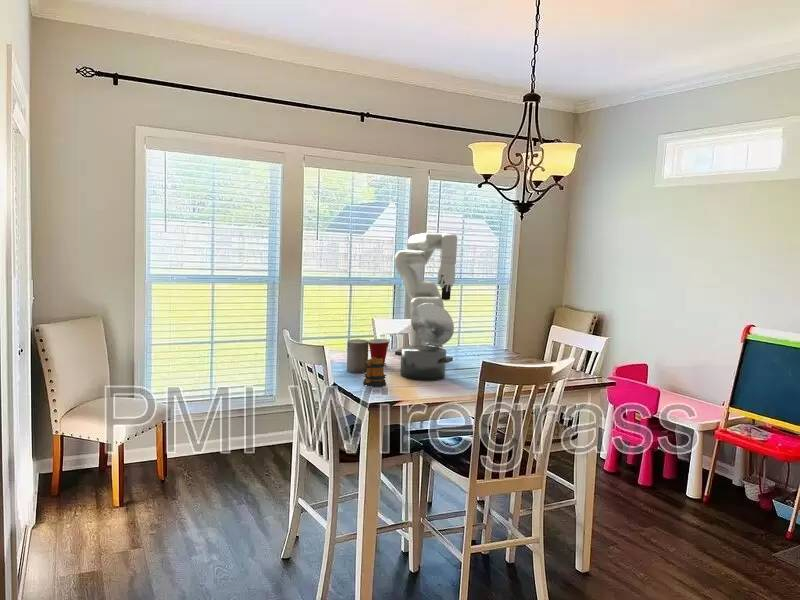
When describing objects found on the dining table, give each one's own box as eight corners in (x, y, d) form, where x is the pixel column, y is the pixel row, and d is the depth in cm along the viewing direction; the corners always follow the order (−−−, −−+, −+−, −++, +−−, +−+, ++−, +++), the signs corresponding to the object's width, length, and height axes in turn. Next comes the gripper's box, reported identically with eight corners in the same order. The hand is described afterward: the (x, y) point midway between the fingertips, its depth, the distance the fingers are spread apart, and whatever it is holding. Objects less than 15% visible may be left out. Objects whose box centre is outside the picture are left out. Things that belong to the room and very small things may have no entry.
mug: (369, 380, 268) (370, 353, 267) (390, 383, 264) (392, 356, 263) (354, 386, 256) (356, 358, 255) (377, 390, 252) (378, 362, 251)
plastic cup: (369, 361, 307) (370, 337, 306) (390, 363, 305) (392, 338, 304) (363, 365, 297) (364, 340, 295) (386, 367, 295) (387, 342, 293)
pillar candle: (370, 369, 288) (371, 337, 287) (363, 373, 279) (364, 340, 278) (351, 367, 291) (352, 335, 290) (342, 371, 282) (343, 338, 281)
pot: (386, 375, 279) (387, 348, 278) (407, 367, 296) (409, 342, 295) (438, 384, 266) (440, 356, 265) (458, 376, 284) (459, 350, 282)
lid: (408, 301, 285) (411, 299, 288) (414, 343, 294) (416, 340, 296) (450, 306, 275) (453, 303, 277) (454, 349, 284) (457, 346, 286)
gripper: (447, 260, 302) (445, 297, 304) (433, 260, 288) (431, 300, 290) (462, 261, 298) (459, 299, 300) (448, 261, 284) (445, 301, 286)
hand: (445, 299), depth 295 cm, fingers closed
